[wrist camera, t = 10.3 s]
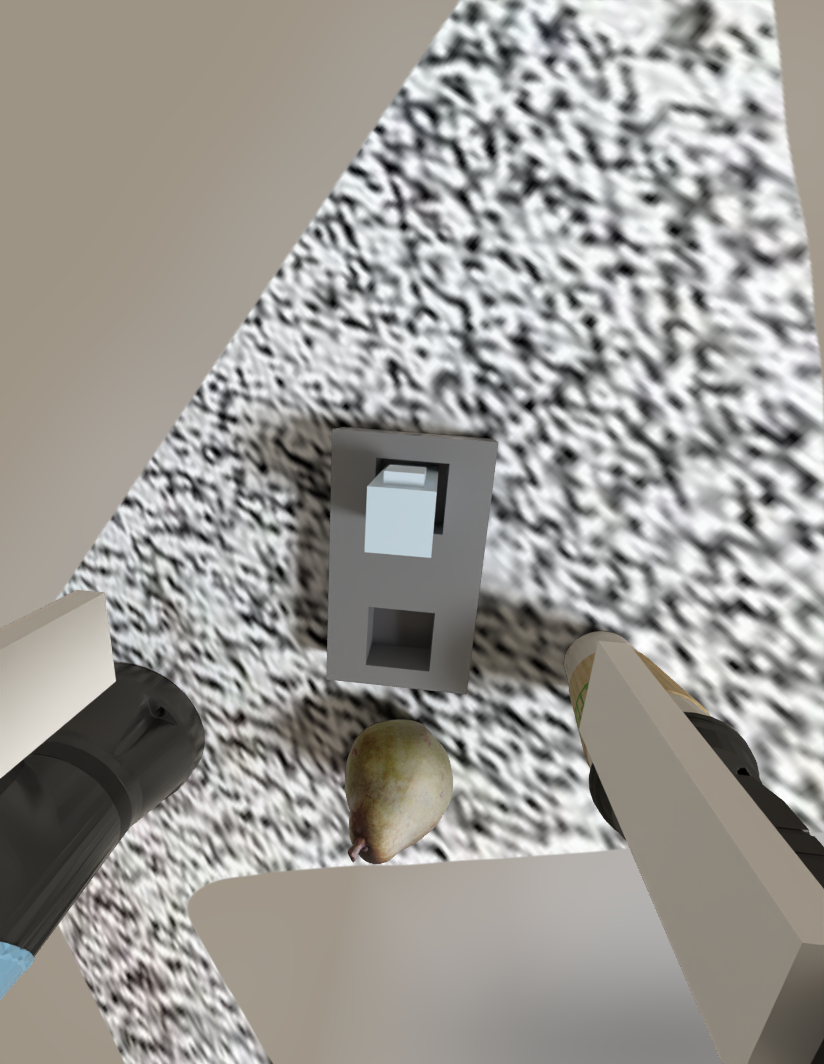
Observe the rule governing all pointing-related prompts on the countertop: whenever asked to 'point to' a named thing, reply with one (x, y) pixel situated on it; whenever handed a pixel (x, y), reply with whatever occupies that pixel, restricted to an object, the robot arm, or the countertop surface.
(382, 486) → the plug
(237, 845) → the countertop surface
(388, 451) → the socket panel
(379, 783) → the fruit
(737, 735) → the coffee cup
